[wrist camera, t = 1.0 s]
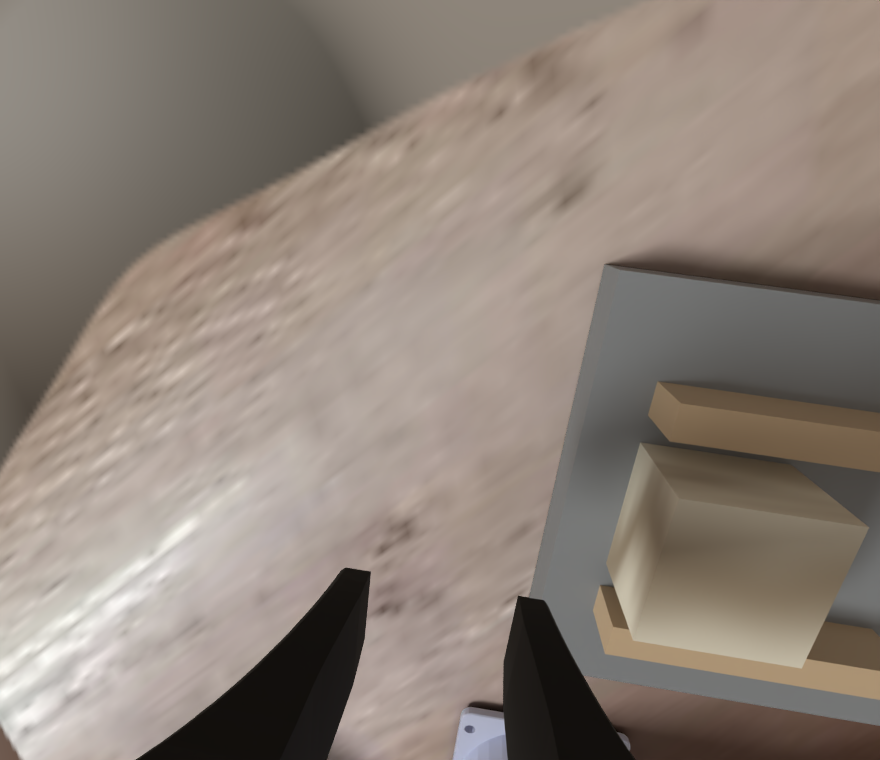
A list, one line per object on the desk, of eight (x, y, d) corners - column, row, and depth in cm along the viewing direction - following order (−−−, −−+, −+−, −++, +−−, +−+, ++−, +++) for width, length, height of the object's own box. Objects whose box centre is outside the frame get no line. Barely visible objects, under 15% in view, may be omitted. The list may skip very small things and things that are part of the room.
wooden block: (743, 585, 18) (801, 668, 15) (606, 563, 18) (633, 640, 15) (791, 464, 16) (869, 527, 13) (640, 442, 16) (679, 498, 13)
